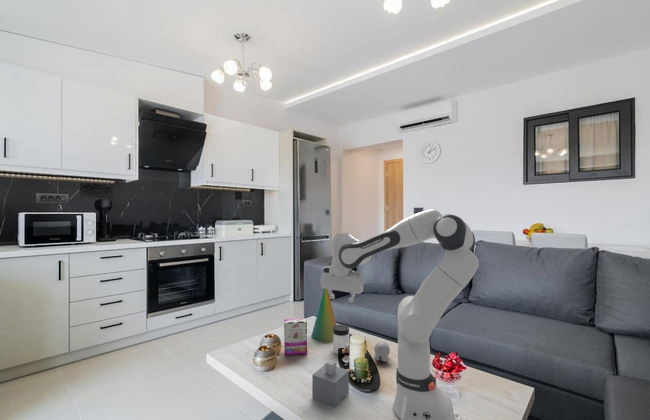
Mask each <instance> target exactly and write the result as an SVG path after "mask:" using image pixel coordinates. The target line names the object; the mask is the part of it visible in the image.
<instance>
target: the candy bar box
mask: <svg viewBox="0 0 650 420" xmlns="http://www.w3.org/2000/svg"><path fill="white" fill-rule="evenodd" d="M307 321H308V320H307V318H292V319H291V318H289V319H287V318H286V319H284V323H283V324H284V329H283V331H284V334H283V335H284V336H283V337H284V356H285V357H289V356H304V355H305V356H306V355H307V354H308V329H307V328H308V323H307Z"/></svg>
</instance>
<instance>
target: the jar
mask: <svg viewBox="0 0 650 420" xmlns="http://www.w3.org/2000/svg"><path fill="white" fill-rule="evenodd" d="M347 346H349V347H350V327H349V326H348V325H347V324H337V325H335V326H334V327H333V342H332V352H333V354H335V355H338V354H337V353H338V349H339V348H345V347H347Z"/></svg>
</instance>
